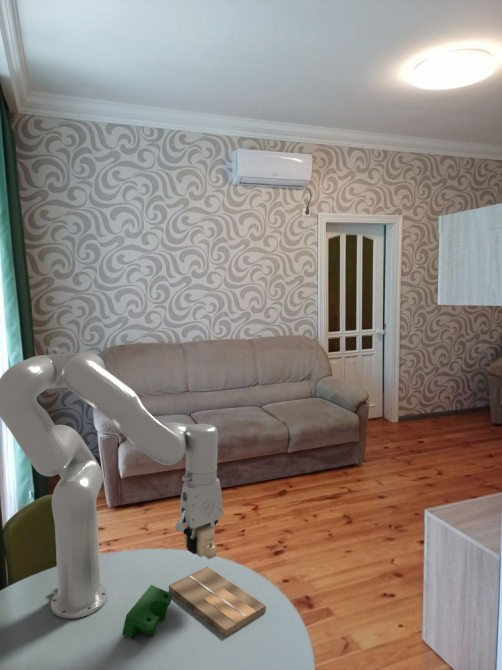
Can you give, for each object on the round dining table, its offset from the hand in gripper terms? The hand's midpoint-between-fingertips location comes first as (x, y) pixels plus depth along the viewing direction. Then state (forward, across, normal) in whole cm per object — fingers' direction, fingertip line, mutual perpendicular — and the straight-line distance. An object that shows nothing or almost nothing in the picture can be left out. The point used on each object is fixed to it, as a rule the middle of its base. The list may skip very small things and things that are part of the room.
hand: (199, 547), depth 118 cm
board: (+11, +1, -6) cm, 13 cm away
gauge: (0, 0, 0) cm, 0 cm away
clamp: (+12, -15, -2) cm, 20 cm away
